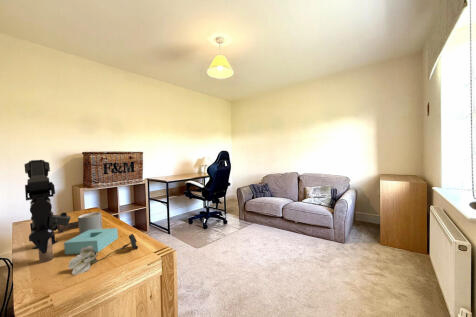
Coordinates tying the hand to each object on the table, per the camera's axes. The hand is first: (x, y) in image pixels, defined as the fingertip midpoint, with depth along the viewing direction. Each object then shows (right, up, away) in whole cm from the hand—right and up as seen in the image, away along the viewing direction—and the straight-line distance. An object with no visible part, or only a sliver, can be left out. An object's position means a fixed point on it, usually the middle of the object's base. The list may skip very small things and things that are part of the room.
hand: (45, 250), depth 81 cm
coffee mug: (-3, -4, +28) cm, 29 cm away
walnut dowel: (0, -4, 0) cm, 4 cm away
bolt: (-18, -5, +38) cm, 42 cm away
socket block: (+11, -3, +11) cm, 16 cm away
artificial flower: (+27, -3, -3) cm, 27 cm away
